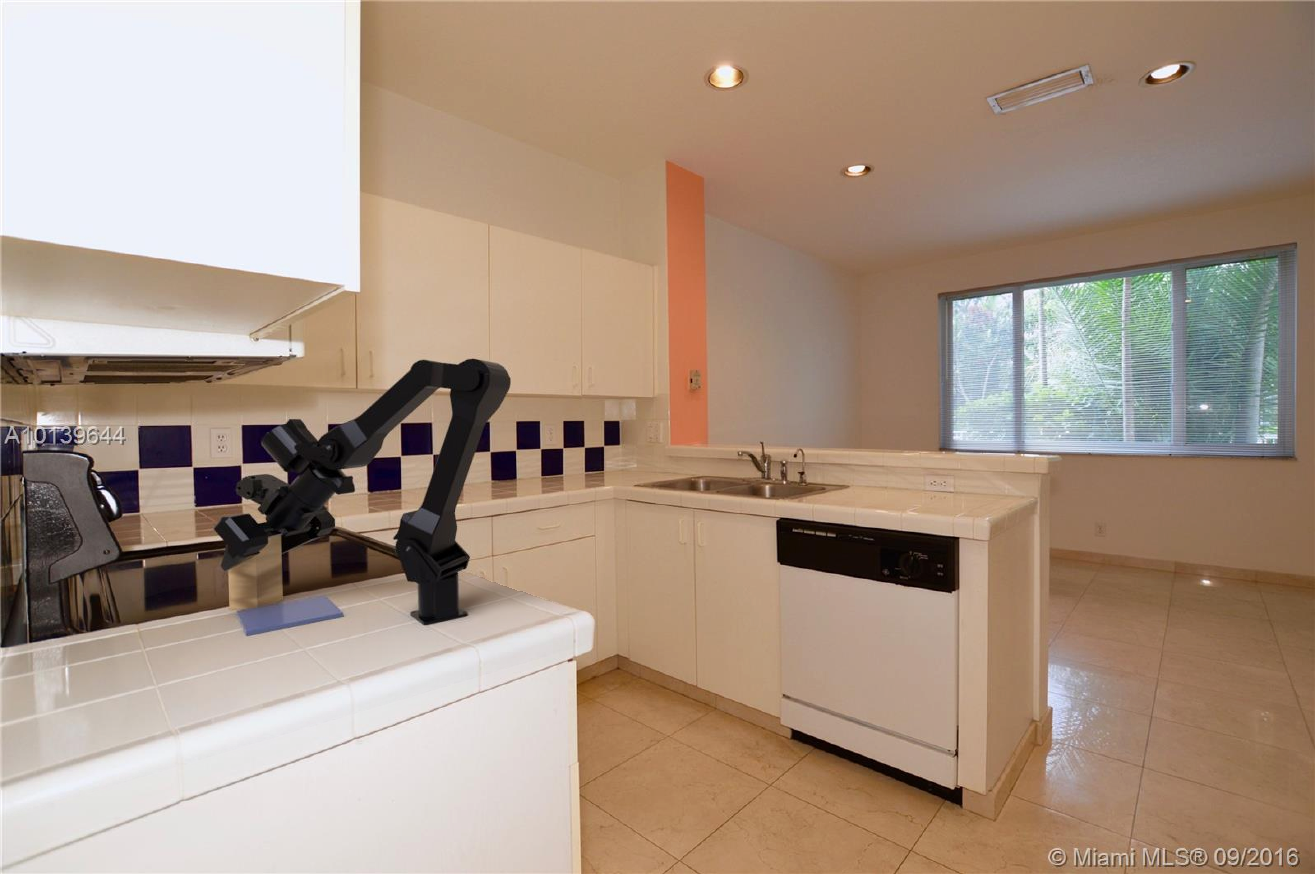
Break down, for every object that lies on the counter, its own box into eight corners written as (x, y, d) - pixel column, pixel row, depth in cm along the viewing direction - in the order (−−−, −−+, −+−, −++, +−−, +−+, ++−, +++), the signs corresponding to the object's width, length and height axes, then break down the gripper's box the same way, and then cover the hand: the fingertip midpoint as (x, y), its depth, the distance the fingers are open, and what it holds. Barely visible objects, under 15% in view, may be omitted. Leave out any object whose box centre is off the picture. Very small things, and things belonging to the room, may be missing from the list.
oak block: (282, 600, 98) (280, 527, 97) (257, 610, 93) (255, 533, 92) (256, 599, 99) (254, 527, 98) (229, 609, 94) (227, 532, 93)
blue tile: (343, 616, 89) (343, 612, 89) (246, 635, 82) (246, 631, 82) (325, 598, 98) (325, 595, 98) (236, 614, 91) (236, 610, 91)
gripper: (318, 453, 104) (264, 516, 106) (223, 461, 85) (160, 536, 87) (360, 500, 102) (305, 562, 105) (273, 517, 84) (207, 592, 86)
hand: (248, 561), depth 96 cm, fingers open, 9 cm apart
